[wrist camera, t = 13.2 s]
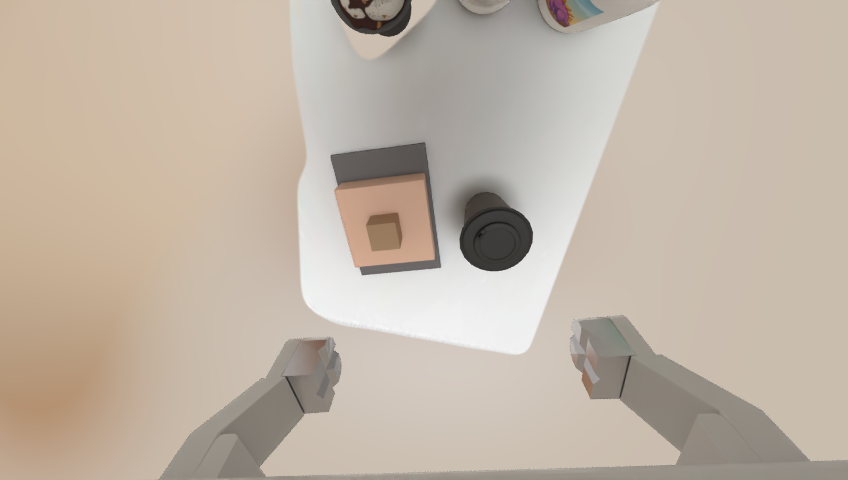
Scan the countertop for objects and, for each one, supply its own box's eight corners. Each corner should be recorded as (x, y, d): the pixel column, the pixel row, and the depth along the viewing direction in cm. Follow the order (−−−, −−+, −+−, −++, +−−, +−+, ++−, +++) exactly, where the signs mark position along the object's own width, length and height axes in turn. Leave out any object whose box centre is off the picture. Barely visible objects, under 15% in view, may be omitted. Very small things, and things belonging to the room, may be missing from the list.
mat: (331, 155, 40) (330, 156, 40) (424, 142, 39) (424, 143, 38) (362, 272, 48) (361, 275, 48) (440, 265, 47) (440, 267, 47)
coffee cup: (457, 180, 41) (463, 208, 32) (520, 183, 41) (543, 212, 32) (453, 236, 45) (457, 275, 36) (510, 238, 45) (528, 278, 36)
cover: (341, 182, 41) (326, 199, 35) (424, 172, 40) (422, 187, 34) (360, 255, 46) (349, 279, 40) (434, 247, 45) (434, 271, 39)
